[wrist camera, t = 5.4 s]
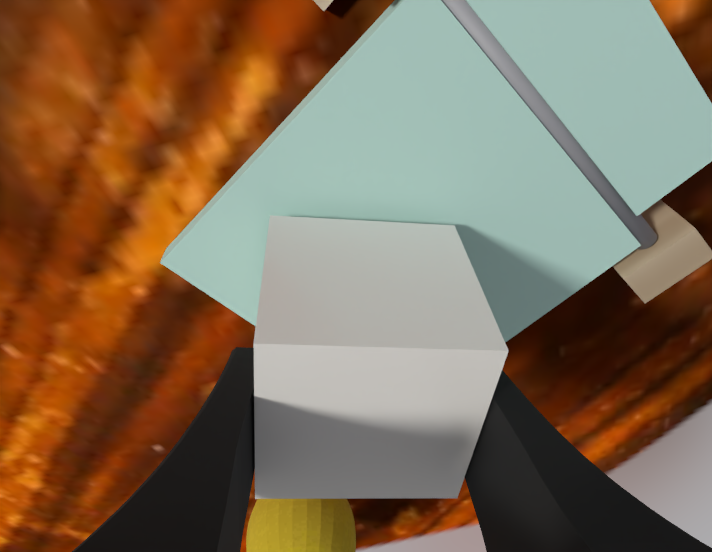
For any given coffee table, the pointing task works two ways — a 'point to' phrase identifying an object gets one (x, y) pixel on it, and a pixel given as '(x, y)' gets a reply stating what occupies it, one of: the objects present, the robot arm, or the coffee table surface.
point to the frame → (656, 248)
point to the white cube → (369, 360)
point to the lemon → (301, 526)
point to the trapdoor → (476, 147)
